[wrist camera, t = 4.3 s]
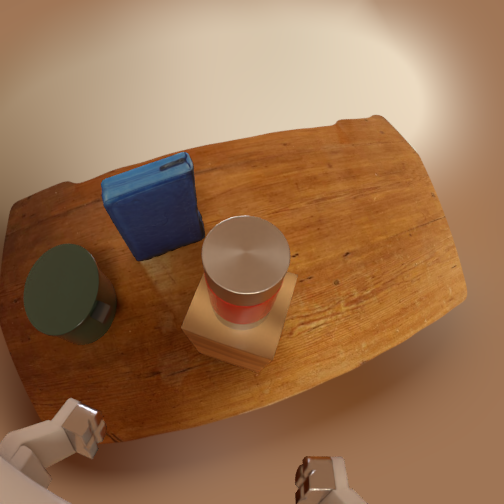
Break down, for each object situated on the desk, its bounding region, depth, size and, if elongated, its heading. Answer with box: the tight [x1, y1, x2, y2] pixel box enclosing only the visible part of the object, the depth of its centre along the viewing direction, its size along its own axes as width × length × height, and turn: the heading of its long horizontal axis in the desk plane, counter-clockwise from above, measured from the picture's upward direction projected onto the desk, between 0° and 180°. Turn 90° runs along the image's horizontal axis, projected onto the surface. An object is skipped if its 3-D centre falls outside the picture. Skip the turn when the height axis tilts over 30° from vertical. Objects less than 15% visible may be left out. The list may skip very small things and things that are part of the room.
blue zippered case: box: [101, 152, 205, 261], centre depth 45 cm, size 14×5×20 cm, turn 114°
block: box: [181, 272, 298, 373], centre depth 38 cm, size 10×10×18 cm
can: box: [202, 216, 290, 330], centre depth 25 cm, size 6×6×11 cm
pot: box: [24, 244, 117, 345], centre depth 42 cm, size 16×20×9 cm
